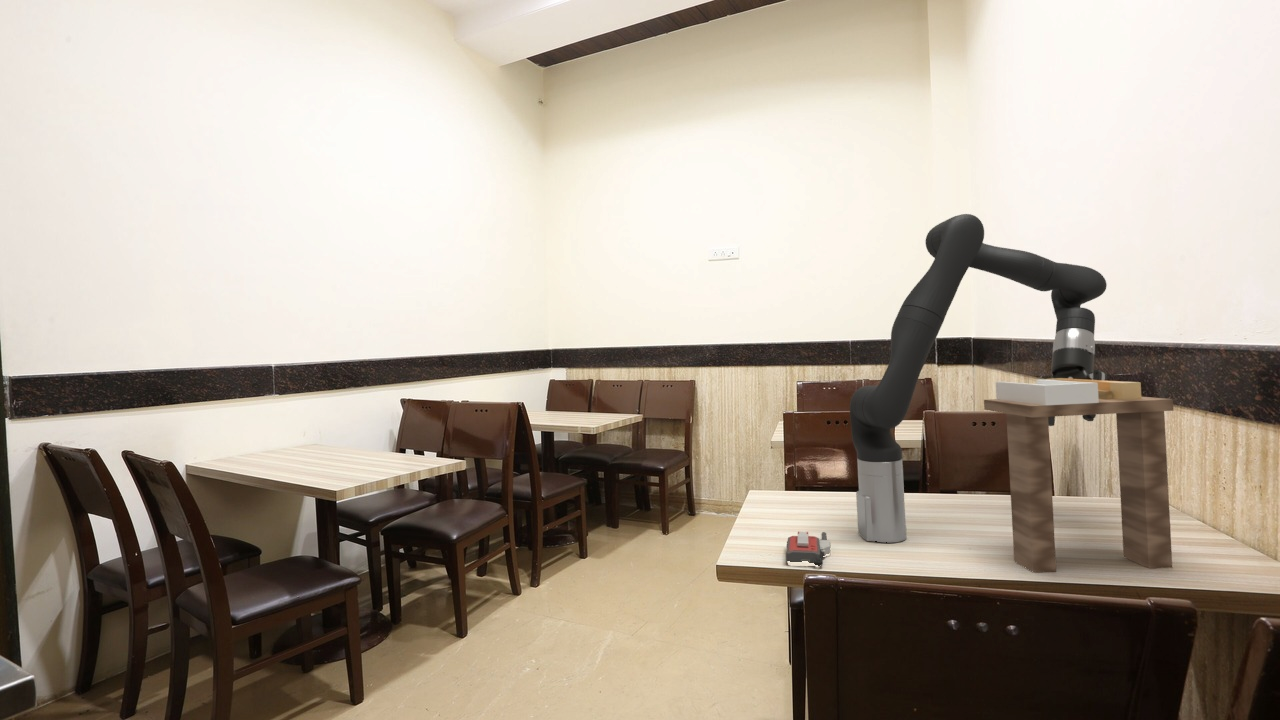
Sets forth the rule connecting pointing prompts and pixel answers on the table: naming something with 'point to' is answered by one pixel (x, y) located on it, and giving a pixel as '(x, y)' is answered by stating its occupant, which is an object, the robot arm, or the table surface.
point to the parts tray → (1048, 392)
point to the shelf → (1137, 475)
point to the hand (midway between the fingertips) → (1067, 422)
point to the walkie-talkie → (807, 548)
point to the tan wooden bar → (1114, 388)
